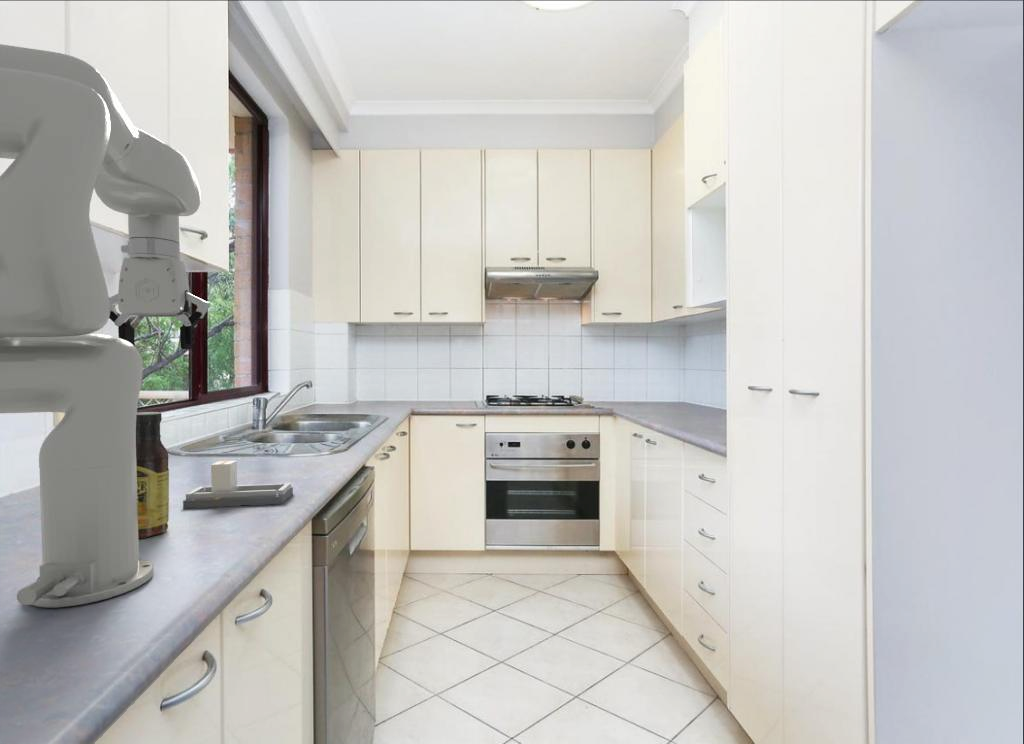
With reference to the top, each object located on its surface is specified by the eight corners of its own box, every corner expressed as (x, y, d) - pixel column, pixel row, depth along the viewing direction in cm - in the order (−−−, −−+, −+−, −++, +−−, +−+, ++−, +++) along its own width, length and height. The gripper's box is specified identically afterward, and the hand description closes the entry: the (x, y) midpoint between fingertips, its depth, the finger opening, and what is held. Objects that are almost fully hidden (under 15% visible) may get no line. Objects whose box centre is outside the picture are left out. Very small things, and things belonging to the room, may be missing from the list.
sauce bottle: (113, 537, 86) (110, 413, 85) (152, 526, 92) (149, 410, 91) (141, 542, 84) (138, 415, 83) (179, 530, 89) (176, 411, 89)
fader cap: (230, 494, 106) (230, 463, 106) (211, 495, 105) (210, 464, 105) (237, 490, 109) (236, 460, 109) (218, 490, 109) (218, 460, 108)
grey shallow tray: (282, 504, 105) (282, 491, 105) (183, 508, 102) (182, 495, 102) (292, 493, 113) (292, 482, 113) (201, 497, 110) (200, 485, 110)
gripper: (87, 247, 90) (90, 349, 91) (198, 249, 93) (200, 348, 93) (114, 255, 98) (116, 349, 98) (215, 257, 100) (217, 349, 100)
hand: (157, 349), depth 95 cm, fingers open, 9 cm apart
